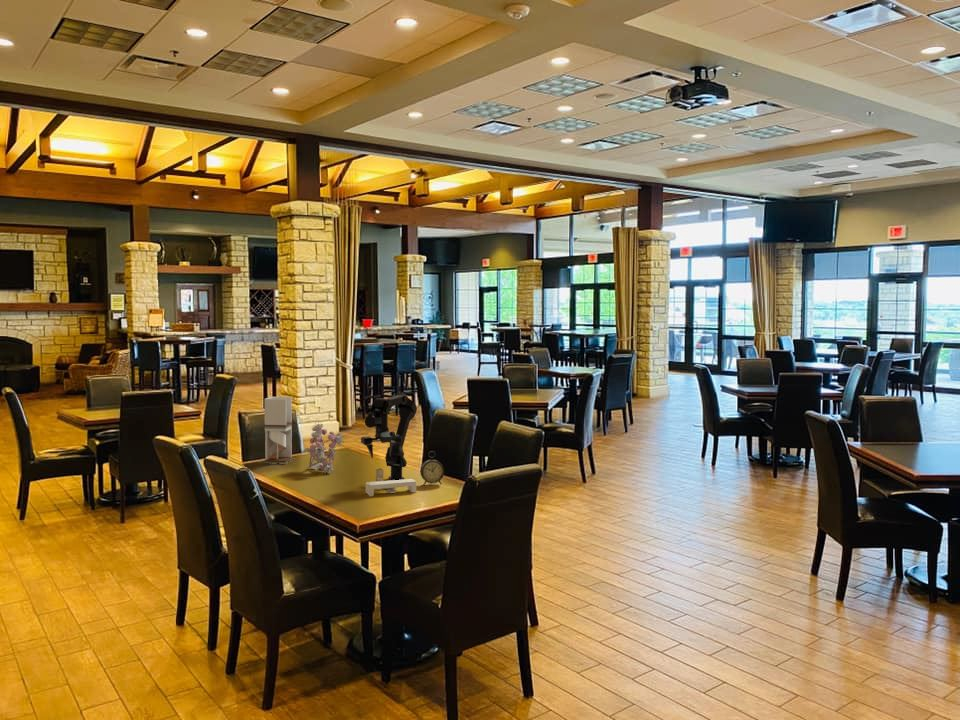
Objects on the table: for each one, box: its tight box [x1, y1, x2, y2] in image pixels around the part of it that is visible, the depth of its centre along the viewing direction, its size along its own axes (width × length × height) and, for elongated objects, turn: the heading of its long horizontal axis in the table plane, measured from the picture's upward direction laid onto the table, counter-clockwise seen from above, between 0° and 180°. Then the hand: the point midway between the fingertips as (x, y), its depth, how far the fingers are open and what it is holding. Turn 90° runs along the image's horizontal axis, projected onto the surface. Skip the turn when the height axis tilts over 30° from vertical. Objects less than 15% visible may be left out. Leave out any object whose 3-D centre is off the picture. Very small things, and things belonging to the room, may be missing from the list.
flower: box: [300, 422, 345, 474], centre depth 381 cm, size 20×22×25 cm
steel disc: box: [385, 489, 397, 494], centre depth 339 cm, size 4×4×1 cm
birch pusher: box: [375, 468, 394, 491], centre depth 351 cm, size 14×8×7 cm, turn 24°
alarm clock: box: [419, 450, 445, 486], centre depth 356 cm, size 11×5×16 cm, turn 105°
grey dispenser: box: [264, 396, 293, 464], centre depth 401 cm, size 11×11×35 cm
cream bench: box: [365, 478, 417, 497], centre depth 338 cm, size 6×22×5 cm, turn 114°
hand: (381, 457), depth 354 cm, fingers open, 9 cm apart
